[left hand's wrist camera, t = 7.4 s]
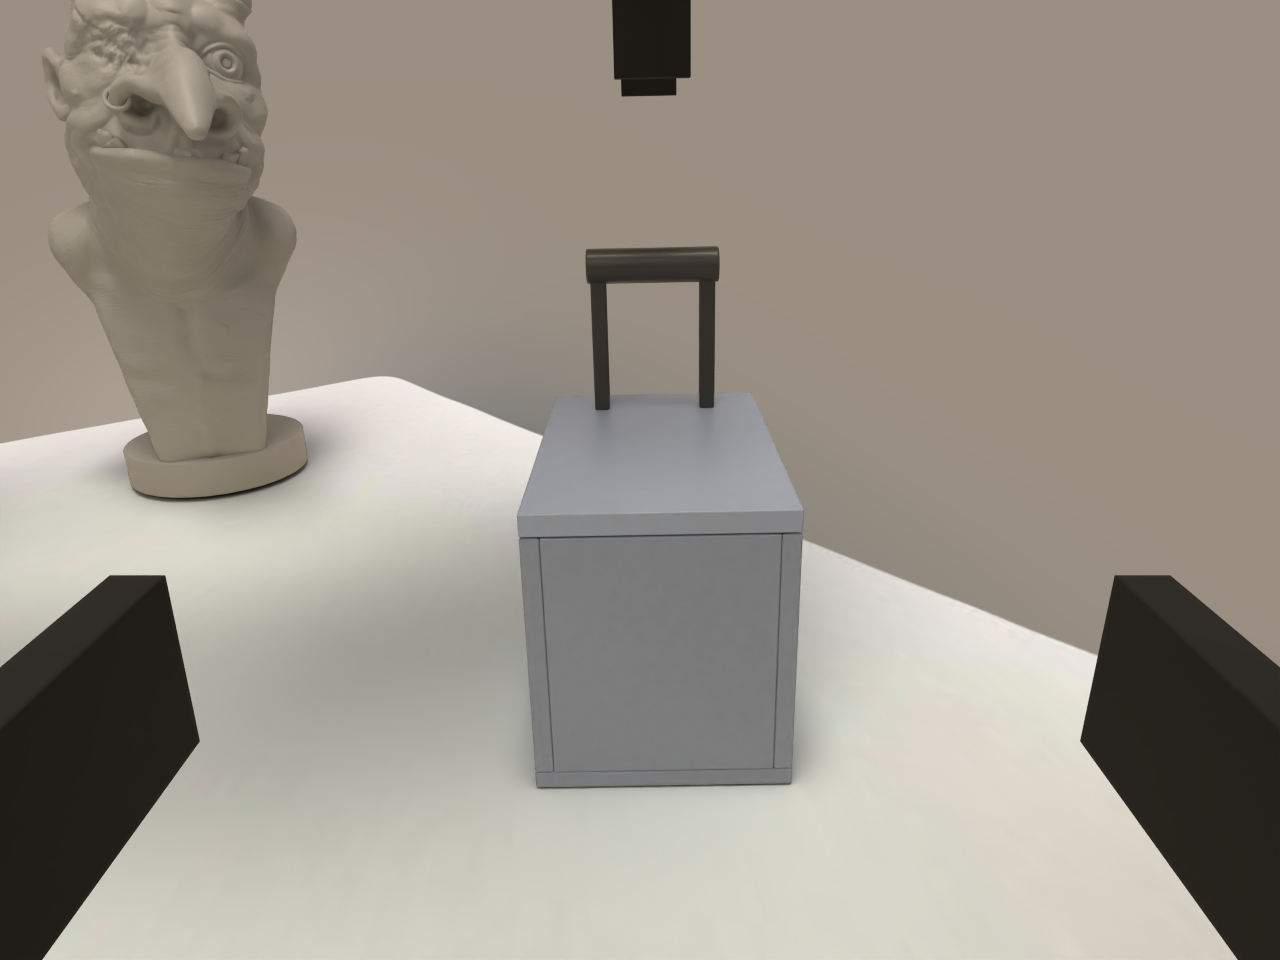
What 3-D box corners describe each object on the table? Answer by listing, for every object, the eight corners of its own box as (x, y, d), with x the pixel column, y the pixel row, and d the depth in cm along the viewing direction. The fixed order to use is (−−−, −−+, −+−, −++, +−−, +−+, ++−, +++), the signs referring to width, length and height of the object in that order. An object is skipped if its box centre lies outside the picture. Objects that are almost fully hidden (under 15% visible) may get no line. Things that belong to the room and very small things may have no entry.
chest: (566, 602, 50) (556, 416, 46) (747, 599, 50) (752, 412, 46) (536, 788, 36) (518, 539, 32) (791, 784, 35) (803, 534, 32)
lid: (556, 412, 47) (548, 244, 44) (751, 408, 46) (755, 240, 44) (518, 538, 32) (500, 296, 29) (803, 532, 32) (814, 290, 29)
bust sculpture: (66, 578, 53) (-120, -117, 41) (118, 457, 74) (4, -28, 62) (349, 532, 59) (259, -93, 47) (323, 431, 80) (256, -19, 68)
